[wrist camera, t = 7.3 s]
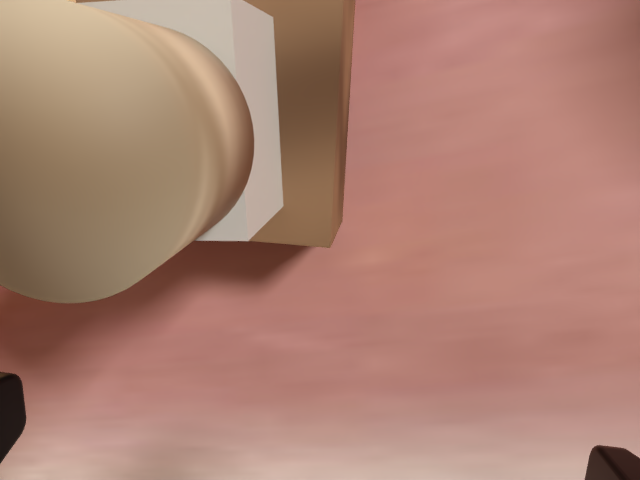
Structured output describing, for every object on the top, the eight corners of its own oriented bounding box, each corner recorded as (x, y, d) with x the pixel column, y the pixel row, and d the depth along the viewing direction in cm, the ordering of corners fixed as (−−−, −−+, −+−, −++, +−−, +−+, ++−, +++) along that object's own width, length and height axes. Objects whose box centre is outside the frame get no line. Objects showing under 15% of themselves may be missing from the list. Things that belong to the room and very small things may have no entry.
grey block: (283, 206, 17) (248, 240, 13) (119, 206, 17) (40, 239, 14) (273, 17, 15) (229, -7, 11) (94, 27, 16) (-2, 7, 12)
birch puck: (257, 245, 13) (198, 310, 9) (65, 237, 13) (-66, 295, 10) (250, 22, 11) (177, -12, 8) (37, 26, 12) (-129, -4, 8)
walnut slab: (343, 218, 21) (330, 247, 17) (147, 203, 22) (93, 227, 18) (356, -6, 18) (344, -32, 15) (137, -12, 19) (73, -37, 16)
